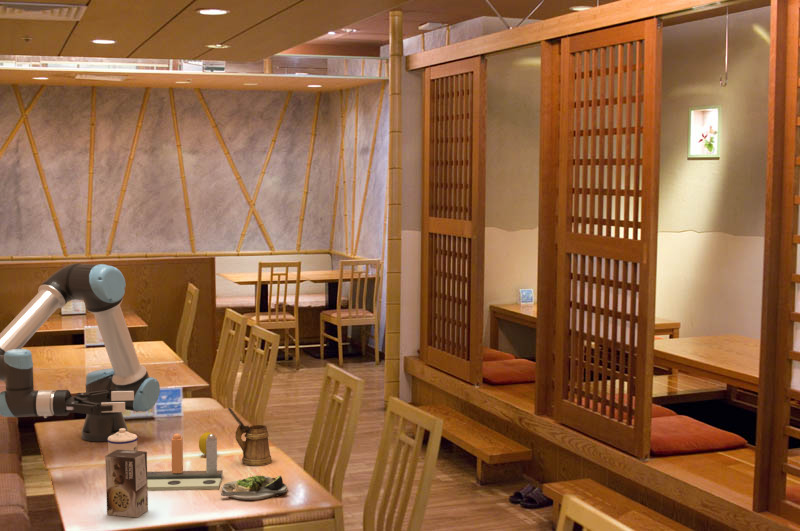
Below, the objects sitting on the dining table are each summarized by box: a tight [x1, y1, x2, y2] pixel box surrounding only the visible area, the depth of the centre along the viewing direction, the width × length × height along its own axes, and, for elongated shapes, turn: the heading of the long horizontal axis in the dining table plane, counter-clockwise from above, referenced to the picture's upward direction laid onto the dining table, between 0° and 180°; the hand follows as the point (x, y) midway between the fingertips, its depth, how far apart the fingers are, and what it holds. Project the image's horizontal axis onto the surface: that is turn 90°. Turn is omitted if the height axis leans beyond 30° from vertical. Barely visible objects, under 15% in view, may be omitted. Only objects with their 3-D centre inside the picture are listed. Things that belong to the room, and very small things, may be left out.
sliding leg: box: [171, 432, 184, 473], centre depth 282 cm, size 3×3×12 cm
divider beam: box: [147, 433, 224, 481], centre depth 282 cm, size 3×27×14 cm, turn 95°
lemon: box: [198, 431, 213, 456], centre depth 307 cm, size 6×6×8 cm
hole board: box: [147, 478, 222, 492], centre depth 276 cm, size 7×25×1 cm, turn 95°
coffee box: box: [104, 450, 149, 518], centre depth 253 cm, size 9×6×16 cm
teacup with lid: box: [106, 428, 139, 455], centre depth 296 cm, size 12×9×12 cm
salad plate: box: [220, 474, 288, 501], centre depth 271 cm, size 19×18×5 cm
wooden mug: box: [227, 407, 273, 467], centre depth 299 cm, size 9×14×18 cm, turn 106°
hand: (129, 401), depth 280 cm, fingers open, 13 cm apart
